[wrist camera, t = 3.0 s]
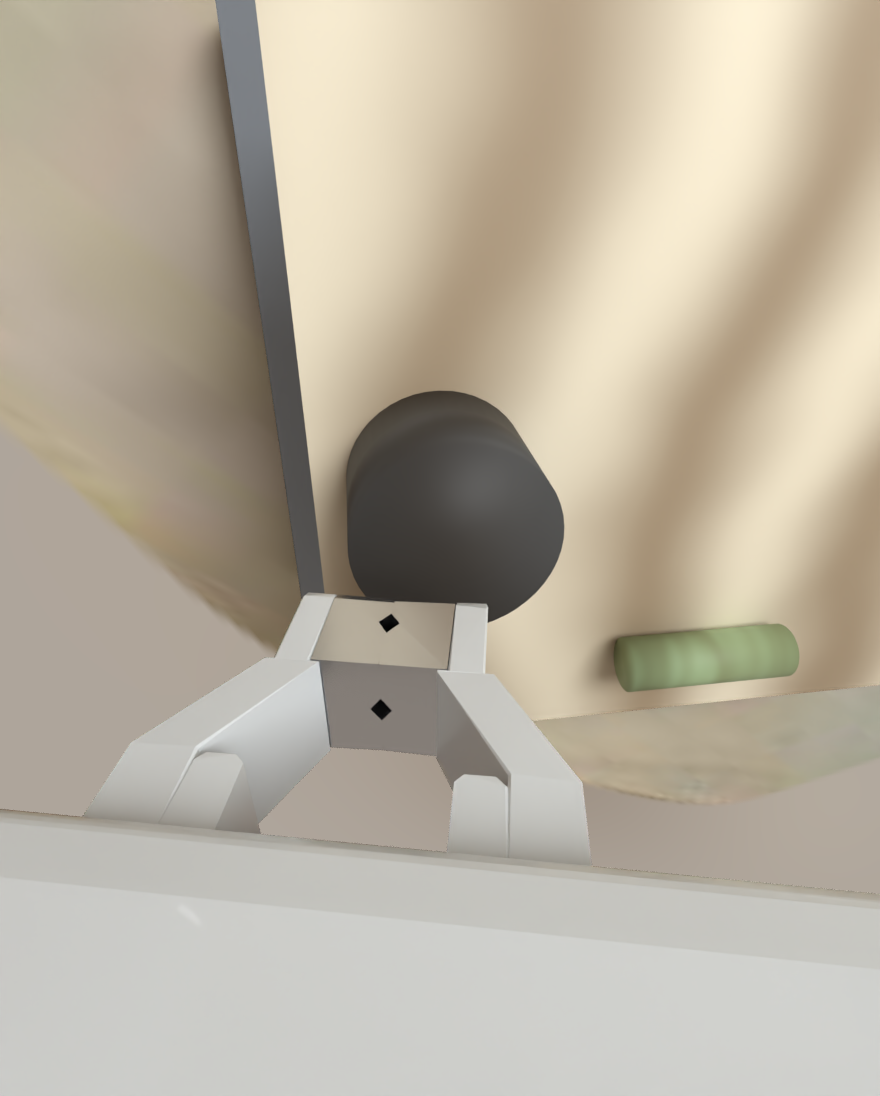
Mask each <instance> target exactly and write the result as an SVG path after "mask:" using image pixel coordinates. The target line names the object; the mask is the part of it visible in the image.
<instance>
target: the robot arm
mask: <svg viewBox="0 0 880 1096" xmlns="http://www.w3.org/2000/svg"><path fill="white" fill-rule="evenodd" d="M487 622H488V606H487V604H479V603H457V604H454V603H438V602H422V601H406V600H396V599H385V598H373V597H362V596H351V595H339V594H338V595H335V594H324V593H310V592H309V593H307V594H306V595H305V596H303V598H302V600H301V602H300V604H299V606H298V608H297V610H296V612H295V614H294V617H293V619H292V621H291V623H290V625H289V627H288V629H287V631H286V633H285V636H284V638H283V640H282V642H281V644H280V646H279V648H278V650H277V652H276V654H275V657H274V658H269V657H265V658H263V659H261V660H260V661H258V662H257V663H255V664H254V665H252V666H250V667H249V668H247V669H246V670H244V671H243V672H241V673H239V674H238V675H236V676H235V677H233V678H232V679H230V680H229V681H227V682H225V683H224V684H222V685H220V686H219V687H217V688H216V689H214V690H213V691H211V692H210V693H208V694H206V695H205V696H203V697H202V698H200V699H199V700H197V701H195V702H194V703H192V704H191V705H189V706H187V707H186V708H184V709H183V710H181V711H180V712H178V713H176V714H175V715H173V716H172V717H170V718H169V719H167V720H165V721H164V722H162V723H161V724H159V725H157V726H156V727H154V728H153V729H151V730H150V731H148V732H146V733H145V734H143V735H142V736H140V737H138V738H137V739H135V740H134V741H133V742H131V743H130V744H129V746H128V748H127V749H126V751H125V752H124V754H123V755H122V757H121V758H120V760H119V761H118V763H117V764H116V766H115V767H114V769H113V770H112V772H111V773H110V775H109V777H108V778H107V780H106V781H105V783H104V784H103V786H102V787H101V789H100V790H99V792H98V793H97V795H96V796H95V798H94V799H93V801H92V803H91V804H90V806H89V807H88V809H87V810H86V812H85V813H84V815H83V816H82V817H78V816H68V815H57V814H47V813H37V812H25V811H15V810H6V809H0V1096H880V894H873V893H863V892H854V891H843V890H833V889H823V888H812V887H802V886H792V885H781V884H771V883H761V882H750V881H740V880H730V879H720V878H709V877H699V876H689V875H679V874H668V873H658V872H647V871H637V870H627V869H617V868H606V867H595V866H592V861H591V852H590V844H589V835H588V828H587V819H586V811H585V801H584V793H583V784H582V782H581V780H580V779H579V778H578V777H577V775H576V774H575V773H574V772H573V770H572V769H571V768H570V767H569V766H568V764H567V763H566V762H565V761H564V759H563V758H562V757H561V756H560V754H559V753H558V752H557V751H556V750H555V748H554V747H553V746H552V745H551V743H550V742H549V741H548V740H547V738H546V737H545V736H544V735H543V734H542V732H541V731H540V730H539V729H538V727H537V726H536V725H535V724H534V722H533V721H532V720H531V719H530V718H529V716H528V715H527V714H526V713H525V711H524V710H523V709H522V708H521V706H520V705H519V704H518V703H517V702H516V700H515V699H514V698H513V697H512V695H511V694H510V693H509V692H508V690H507V689H506V688H505V687H504V686H503V684H502V683H501V682H500V681H499V679H498V678H497V677H496V676H495V675H494V674H485V666H486V644H487ZM330 747H336V748H353V749H371V750H386V751H394V752H404V753H413V754H421V755H430V756H436V759H437V761H438V763H439V765H440V767H441V769H442V770H443V773H444V774H445V776H446V778H447V781H448V783H449V785H450V787H451V789H452V790H453V797H452V806H451V816H450V825H449V835H448V844H447V852H440V851H428V850H419V849H409V848H399V847H388V846H378V845H368V844H357V843H347V842H337V841H325V840H316V839H306V838H295V837H285V836H275V835H264V834H261V833H260V829H259V825H258V824H259V822H260V821H261V820H262V819H263V818H264V817H265V816H266V815H267V814H268V813H269V812H270V811H271V810H272V809H273V808H274V807H275V806H276V805H277V804H278V803H279V802H280V801H281V800H282V799H283V798H284V797H285V796H286V795H287V794H288V793H289V792H290V791H291V790H292V789H293V788H294V787H295V786H296V785H297V784H298V783H299V782H300V781H301V780H302V779H303V778H304V777H305V776H306V775H307V774H308V773H309V772H310V771H311V769H313V768H314V766H316V765H317V764H318V763H319V761H320V760H321V759H322V758H323V757H324V756H325V755H326V754H327V753H328V752H329V751H330Z"/></svg>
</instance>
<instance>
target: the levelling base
mask: <svg viewBox="0 0 880 1096" xmlns="http://www.w3.org/2000/svg"><path fill="white" fill-rule="evenodd" d="M215 1H216V8H217V15H218V22H219V29H220V36H221V43H222V50H223V57H224V64H225V71H226V77H227V84H228V91H229V98H230V105H231V112H232V119H233V126H234V133H235V140H236V147H237V154H238V161H239V168H240V175H241V182H242V189H243V195H244V202H245V209H246V216H247V223H248V230H249V237H250V244H251V251H252V258H253V265H254V272H255V279H256V286H257V293H258V300H259V307H260V314H261V320H262V327H263V334H264V341H265V348H266V355H267V362H268V369H269V376H270V383H271V390H272V397H273V404H274V411H275V418H276V425H277V432H278V438H279V445H280V452H281V459H282V466H283V473H284V480H285V487H286V494H287V501H288V508H289V515H290V522H291V529H292V536H293V543H294V550H295V556H296V563H297V570H298V577H299V584H300V591H301V598H303V596H305V595H306V594H307V593H309V592H310V593H324V594H325V592H324V583H323V575H322V566H321V557H320V549H319V540H318V532H317V523H316V515H315V506H314V498H313V489H312V481H311V472H310V464H309V455H308V447H307V438H306V430H305V421H304V413H303V404H302V396H301V387H300V379H299V370H298V361H297V353H296V344H295V336H294V327H293V319H292V310H291V302H290V293H289V285H288V276H287V268H286V259H285V251H284V242H283V234H282V225H281V217H280V208H279V200H278V191H277V183H276V174H275V165H274V157H273V148H272V140H271V131H270V123H269V114H268V106H267V97H266V89H265V80H264V72H263V63H262V55H261V46H260V38H259V29H258V21H257V12H256V4H255V0H215Z"/></svg>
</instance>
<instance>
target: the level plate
mask: <svg viewBox="0 0 880 1096" xmlns="http://www.w3.org/2000/svg"><path fill="white" fill-rule="evenodd" d="M255 4H256V12H257V21H258V29H259V38H260V46H261V55H262V63H263V72H264V80H265V89H266V97H267V106H268V114H269V123H270V131H271V140H272V148H273V157H274V165H275V174H276V183H277V191H278V200H279V208H280V217H281V225H282V234H283V242H284V251H285V259H286V268H287V276H288V285H289V293H290V302H291V310H292V319H293V327H294V336H295V344H296V353H297V361H298V370H299V379H300V387H301V396H302V404H303V413H304V421H305V430H306V438H307V447H308V455H309V464H310V472H311V481H312V489H313V498H314V506H315V515H316V523H317V532H318V540H319V549H320V557H321V566H322V575H323V583H324V592H325V594H335V595H338V594H339V595H351V596H362V597H373V598H385V599H396V600H406V601H422V602H438V603H454V604H457V603H479V604H487V606H488V622H487V644H486V666H485V674H494V675H495V676H496V677H497V678H498V679H499V681H500V682H501V683H502V684H503V686H504V687H505V688H506V689H507V690H508V692H509V693H510V694H511V695H512V697H513V698H514V699H515V700H516V702H517V703H518V704H519V705H520V706H521V708H522V709H523V710H524V711H525V713H526V714H527V715H528V716H529V718H530V719H531V720H532V721H537V720H546V719H556V718H566V717H575V716H585V715H595V714H604V713H614V712H624V711H633V710H643V709H652V708H662V707H672V706H681V705H691V704H701V703H710V702H720V701H730V700H739V699H749V698H759V697H768V696H778V695H788V694H797V693H807V692H817V691H826V690H836V689H846V688H855V687H865V686H875V685H880V0H255Z"/></svg>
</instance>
